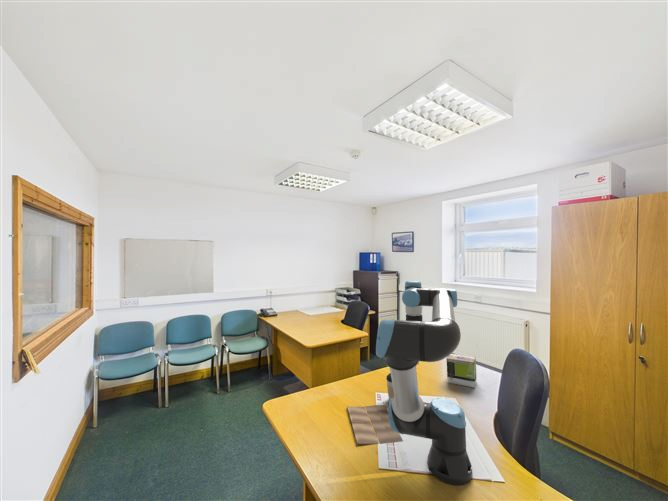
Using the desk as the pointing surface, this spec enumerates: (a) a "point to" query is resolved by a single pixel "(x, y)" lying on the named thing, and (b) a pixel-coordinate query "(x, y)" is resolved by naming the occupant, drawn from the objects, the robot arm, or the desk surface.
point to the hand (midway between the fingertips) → (415, 363)
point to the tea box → (461, 370)
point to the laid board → (382, 424)
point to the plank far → (358, 415)
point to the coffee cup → (390, 387)
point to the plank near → (364, 434)
